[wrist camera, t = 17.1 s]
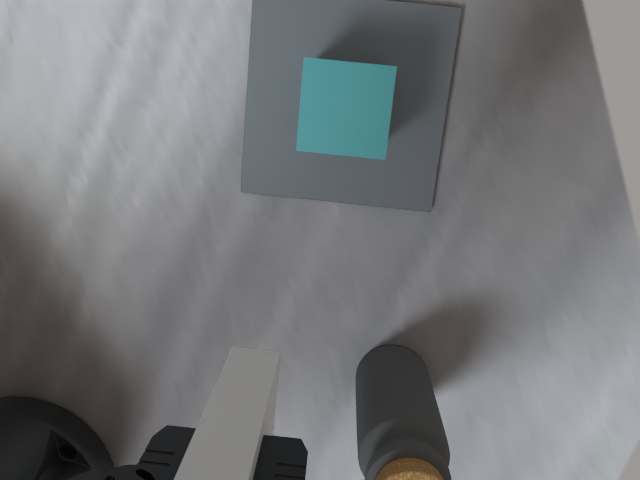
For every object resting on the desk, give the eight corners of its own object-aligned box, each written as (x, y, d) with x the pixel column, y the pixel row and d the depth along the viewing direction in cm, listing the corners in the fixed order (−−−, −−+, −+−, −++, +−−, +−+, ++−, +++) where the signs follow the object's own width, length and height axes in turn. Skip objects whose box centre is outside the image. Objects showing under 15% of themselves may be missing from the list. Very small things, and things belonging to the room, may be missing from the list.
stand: (242, 190, 43) (223, 209, 36) (255, -12, 40) (236, -31, 33) (429, 209, 43) (444, 233, 36) (459, 9, 39) (483, -7, 33)
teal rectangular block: (305, 138, 41) (296, 150, 34) (312, 62, 40) (303, 57, 32) (378, 145, 41) (385, 159, 33) (387, 69, 40) (397, 66, 32)
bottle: (389, 329, 46) (408, 443, 31) (443, 374, 46) (486, 505, 32) (340, 379, 47) (337, 510, 33) (393, 422, 48) (414, 569, 33)
